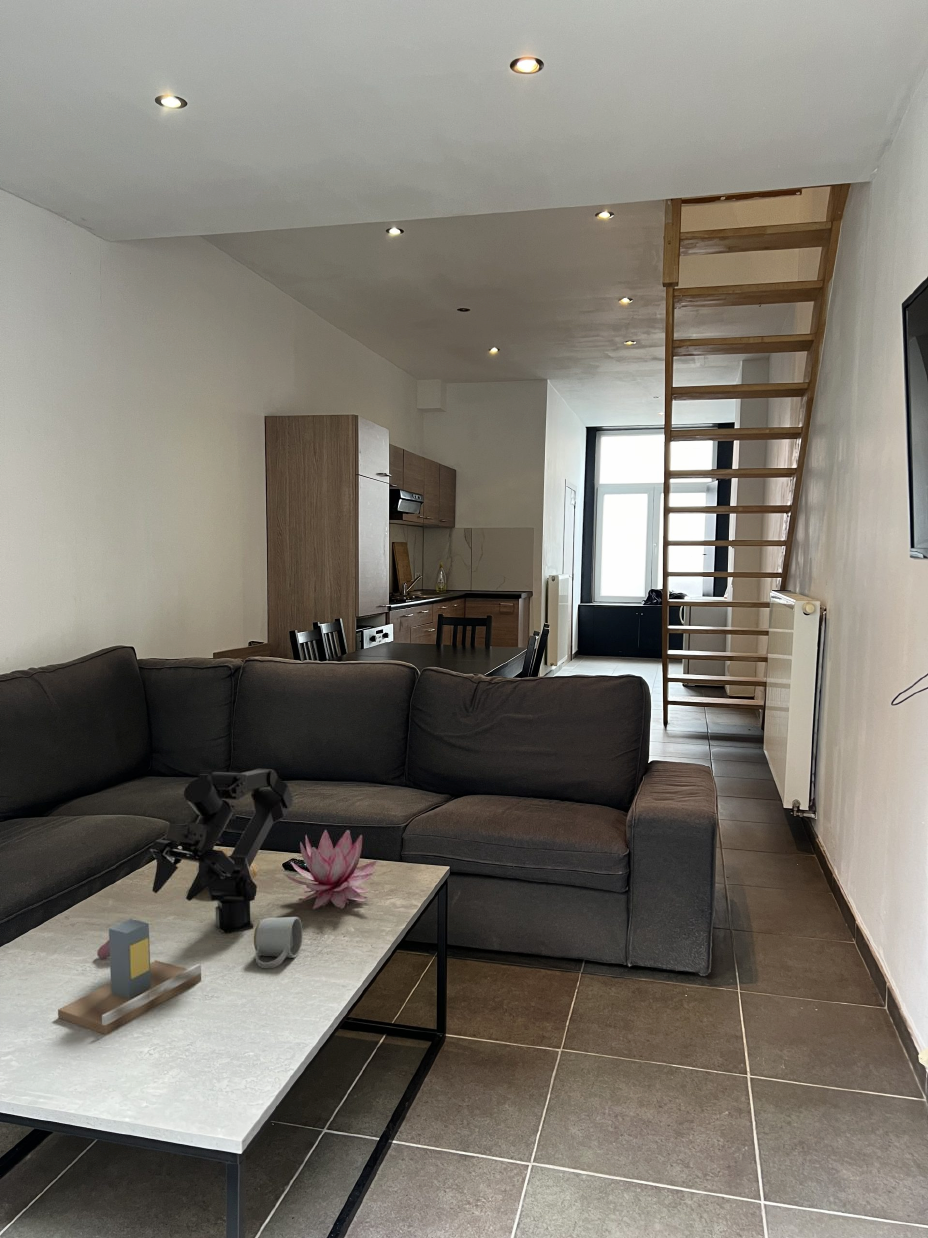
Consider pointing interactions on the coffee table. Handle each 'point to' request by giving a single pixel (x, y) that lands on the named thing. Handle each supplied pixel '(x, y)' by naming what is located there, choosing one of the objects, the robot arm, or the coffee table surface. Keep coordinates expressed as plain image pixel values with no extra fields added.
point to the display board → (114, 1010)
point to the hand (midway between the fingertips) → (170, 896)
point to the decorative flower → (334, 870)
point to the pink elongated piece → (104, 950)
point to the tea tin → (129, 958)
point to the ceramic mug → (277, 939)
